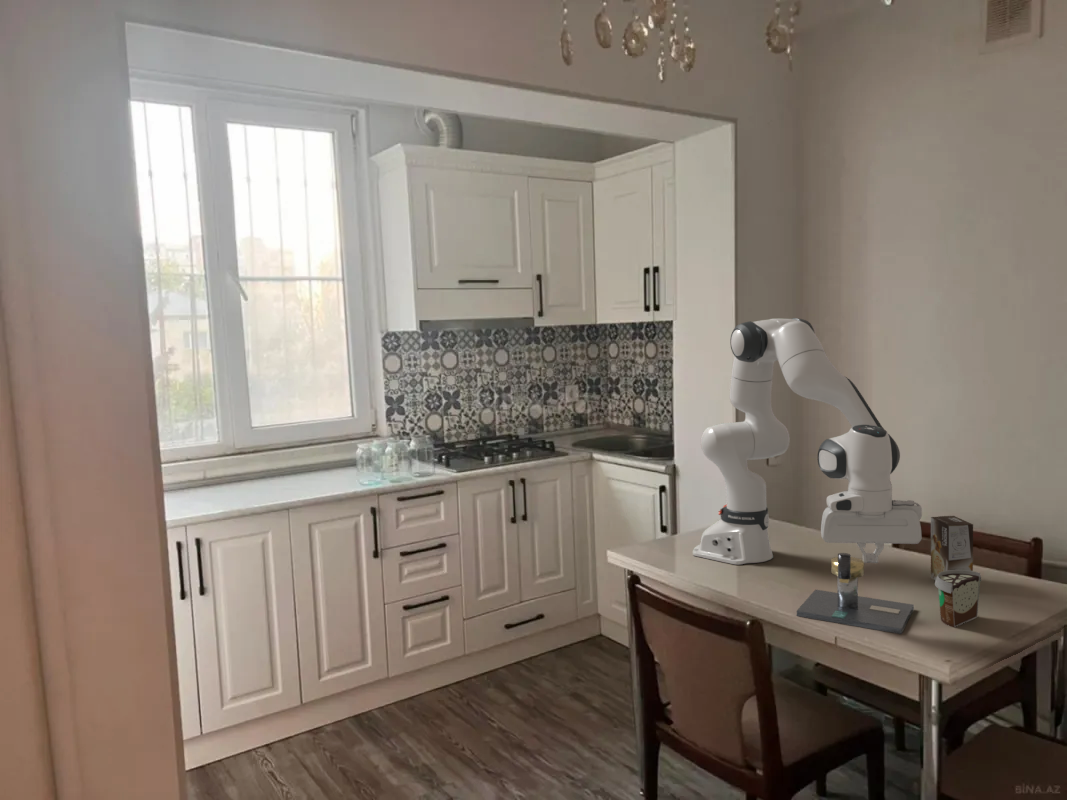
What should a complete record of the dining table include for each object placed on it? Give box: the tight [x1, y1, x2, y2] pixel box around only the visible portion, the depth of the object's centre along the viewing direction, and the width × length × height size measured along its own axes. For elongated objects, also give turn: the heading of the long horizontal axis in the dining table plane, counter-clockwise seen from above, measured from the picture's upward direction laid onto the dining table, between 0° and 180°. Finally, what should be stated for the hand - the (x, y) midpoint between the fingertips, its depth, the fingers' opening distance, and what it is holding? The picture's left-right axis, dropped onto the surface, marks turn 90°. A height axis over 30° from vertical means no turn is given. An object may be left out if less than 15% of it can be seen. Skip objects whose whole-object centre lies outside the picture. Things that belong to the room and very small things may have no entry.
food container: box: [934, 570, 982, 628], centre depth 173 cm, size 12×6×10 cm, turn 123°
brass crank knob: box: [830, 552, 865, 583], centre depth 177 cm, size 13×7×7 cm, turn 154°
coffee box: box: [930, 515, 974, 582], centre depth 195 cm, size 9×6×16 cm
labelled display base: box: [796, 576, 915, 635], centre depth 178 cm, size 22×16×8 cm
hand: (870, 562), depth 171 cm, fingers closed
